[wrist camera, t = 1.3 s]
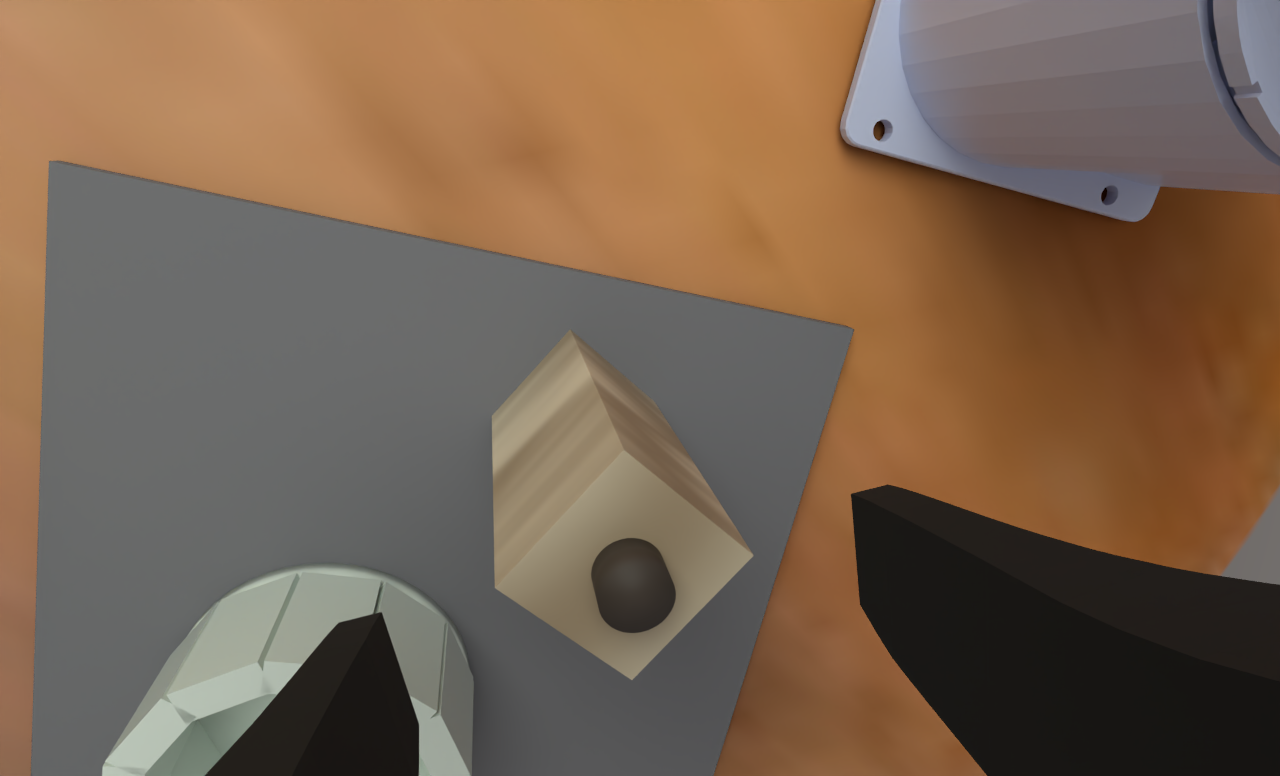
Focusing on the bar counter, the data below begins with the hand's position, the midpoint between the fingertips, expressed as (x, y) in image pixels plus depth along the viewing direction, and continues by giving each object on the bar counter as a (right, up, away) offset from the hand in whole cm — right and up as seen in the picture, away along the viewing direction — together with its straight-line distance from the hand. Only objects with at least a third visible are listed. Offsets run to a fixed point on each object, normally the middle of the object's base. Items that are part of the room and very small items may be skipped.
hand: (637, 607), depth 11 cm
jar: (-8, -5, +10) cm, 14 cm away
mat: (-5, -1, +9) cm, 11 cm away
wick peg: (-2, +3, +8) cm, 9 cm away
